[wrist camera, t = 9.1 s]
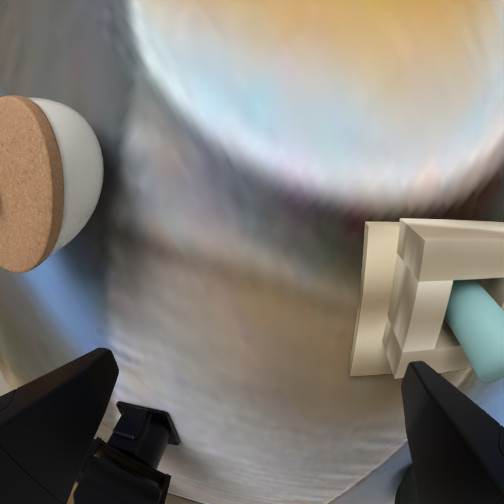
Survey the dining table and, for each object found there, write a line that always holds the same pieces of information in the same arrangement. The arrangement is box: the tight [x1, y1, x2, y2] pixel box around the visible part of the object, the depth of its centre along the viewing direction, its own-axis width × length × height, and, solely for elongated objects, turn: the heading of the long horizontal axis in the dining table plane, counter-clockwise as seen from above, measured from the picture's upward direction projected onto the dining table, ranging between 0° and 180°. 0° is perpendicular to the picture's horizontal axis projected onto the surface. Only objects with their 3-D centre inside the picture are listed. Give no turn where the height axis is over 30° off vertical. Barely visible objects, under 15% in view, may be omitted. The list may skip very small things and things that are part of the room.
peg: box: [444, 279, 504, 383], centre depth 14 cm, size 3×3×8 cm
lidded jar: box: [0, 96, 104, 273], centre depth 15 cm, size 11×11×9 cm
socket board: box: [349, 218, 504, 379], centre depth 17 cm, size 12×11×5 cm
